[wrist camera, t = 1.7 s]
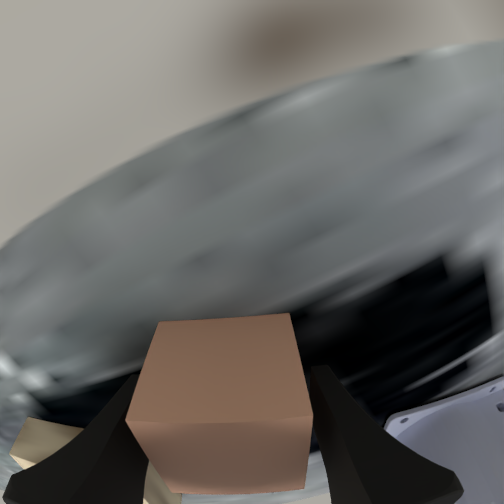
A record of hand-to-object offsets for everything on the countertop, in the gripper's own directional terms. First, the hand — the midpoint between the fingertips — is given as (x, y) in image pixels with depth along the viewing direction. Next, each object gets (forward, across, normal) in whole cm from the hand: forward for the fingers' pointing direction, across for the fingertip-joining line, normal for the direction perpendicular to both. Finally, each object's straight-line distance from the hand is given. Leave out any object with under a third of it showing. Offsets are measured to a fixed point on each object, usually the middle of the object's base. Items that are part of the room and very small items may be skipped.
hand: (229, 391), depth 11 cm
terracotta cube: (+2, 0, 0) cm, 2 cm away
